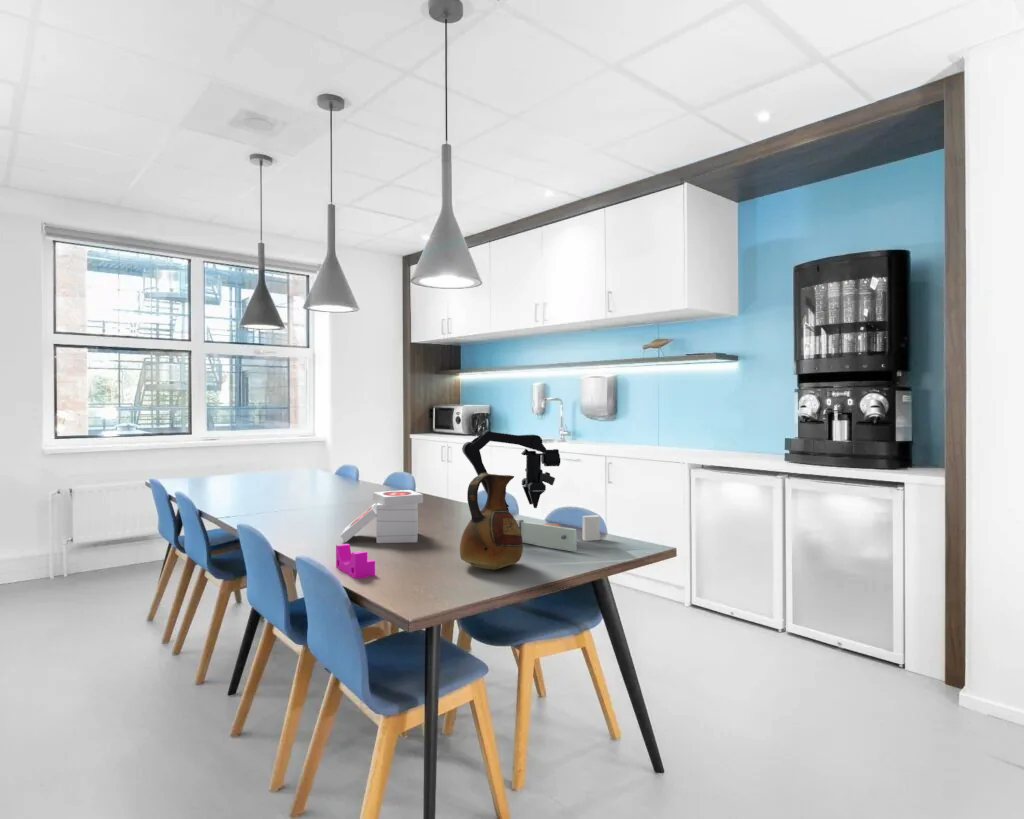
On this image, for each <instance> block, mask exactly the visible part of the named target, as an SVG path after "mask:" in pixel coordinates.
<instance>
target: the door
mask: <svg viewBox="0 0 1024 819" xmlns="http://www.w3.org/2000/svg"><path fill="white" fill-rule="evenodd" d="M544 524H545V523H538V522H530V521H524V519H519V528H520V531H521V535H522V542H523V544H529V545H537V546H541V547H548V548H552V549H558V550H564V551H569V552H577V528H571V527H563V526H559V527H558V526H551V525H544Z"/></svg>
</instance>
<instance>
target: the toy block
mask: <svg viewBox="0 0 1024 819" xmlns="http://www.w3.org/2000/svg"><path fill="white" fill-rule="evenodd" d="M335 568H337V569H338V570H340V571H342V572H344V573H345V574H347V575H349V576H351V577H352V578H353V579H361V578H367V577H368V578H369V577H373V576H376V560H373V559H372V558H368V551H366V550H359V551H358V550H357V551H352V552H351V545H350V544H349V543H344V544H343V543H342V544H341V543H340V544H336V545H335Z"/></svg>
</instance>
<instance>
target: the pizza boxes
mask: <svg viewBox="0 0 1024 819" xmlns="http://www.w3.org/2000/svg"><path fill="white" fill-rule="evenodd" d="M372 501H373V502H374V504H371V506H370V507H369V508H367V509H366V510H365V511H364V512H363V513H361V514H360V515H359V516H357V518H355V519H353V521H352V522H351V523H349V524H348V525H347V526H346V527H345V528H344V529H343V531H342V532H341V534H340V538H341V539H343V542H345V543H347V542H348V541H349V540H350V539H352V538H353V537H354V536H355V535H356V534H358V533H359V532H360V531H361V530H362V529H363V528H364V527H366V526H367V525H368V524H369V523H370V522H372V521H373V520H376V521H375V522H376V529H375V530H376V534H375V535H376V540H375V541H376V544H385V543H386V544H391V543H393V544H394V543H395V544H396V543H400V544H401V543H418V537H419V536H418V534H419V532H418V531H419V530H418V527H419V526H418V525H419V524H418V523H419V521H418V519H419V517H418V516H419V515H418V510H419V509H418V506H419V504H423V503H424V494H423V493H420V492H417V491H415V490H414V491H413V490H411V489H403V490H400V489H399V490H390V491H389V490H386V491H374V492H372ZM375 518H376V519H375Z"/></svg>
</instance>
